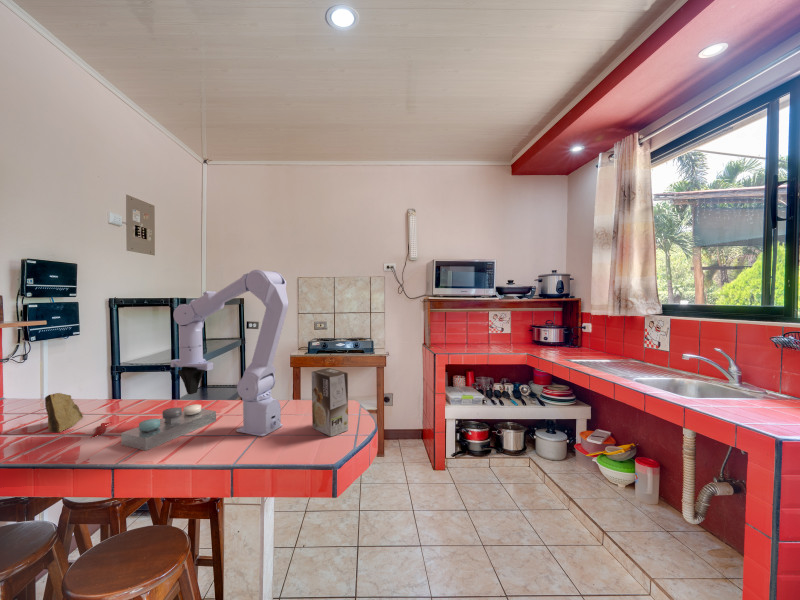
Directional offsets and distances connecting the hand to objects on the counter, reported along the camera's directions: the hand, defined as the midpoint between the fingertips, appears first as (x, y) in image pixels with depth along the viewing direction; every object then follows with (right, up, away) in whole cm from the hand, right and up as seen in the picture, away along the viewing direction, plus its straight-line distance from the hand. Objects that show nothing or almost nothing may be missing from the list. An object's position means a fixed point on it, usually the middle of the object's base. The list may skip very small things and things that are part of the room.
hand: (192, 393), depth 100 cm
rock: (-36, -9, 0) cm, 37 cm away
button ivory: (0, -8, 0) cm, 8 cm away
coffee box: (+40, -9, -3) cm, 42 cm away
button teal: (-4, -8, -11) cm, 14 cm away
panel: (-2, -9, -5) cm, 11 cm away
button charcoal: (-2, -7, -5) cm, 9 cm away
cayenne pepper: (-23, -10, -4) cm, 25 cm away
